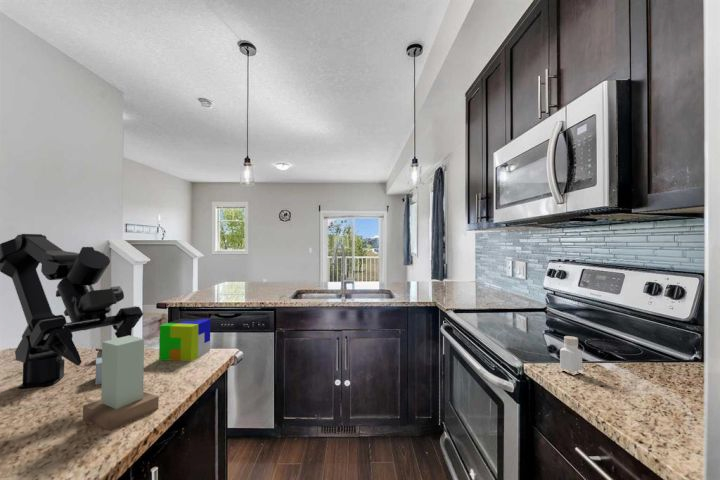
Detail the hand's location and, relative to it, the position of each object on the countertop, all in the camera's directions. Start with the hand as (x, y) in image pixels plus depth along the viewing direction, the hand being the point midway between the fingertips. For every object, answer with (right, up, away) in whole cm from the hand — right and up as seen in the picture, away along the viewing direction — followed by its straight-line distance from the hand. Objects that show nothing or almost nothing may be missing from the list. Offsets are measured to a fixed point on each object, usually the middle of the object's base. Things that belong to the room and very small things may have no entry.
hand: (106, 357), depth 70 cm
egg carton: (-19, -11, +31) cm, 38 cm away
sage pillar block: (+5, -8, -3) cm, 10 cm away
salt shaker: (+110, -12, +21) cm, 113 cm away
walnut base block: (+5, -11, -3) cm, 12 cm away
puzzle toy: (-1, -11, +33) cm, 35 cm away
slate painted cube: (-10, -10, +14) cm, 21 cm away
